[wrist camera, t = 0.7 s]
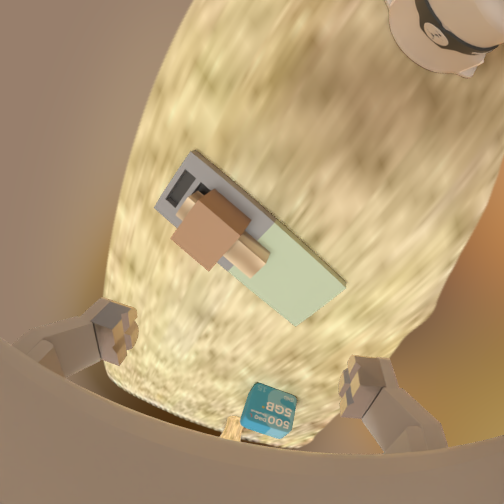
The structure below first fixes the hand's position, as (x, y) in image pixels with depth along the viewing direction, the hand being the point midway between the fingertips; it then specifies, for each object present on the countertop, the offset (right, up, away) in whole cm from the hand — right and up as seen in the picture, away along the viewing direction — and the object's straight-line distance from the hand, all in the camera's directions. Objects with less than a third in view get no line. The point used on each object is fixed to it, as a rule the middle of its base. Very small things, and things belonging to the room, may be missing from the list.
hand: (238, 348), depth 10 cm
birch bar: (-4, +7, +39) cm, 40 cm away
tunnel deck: (0, +5, +41) cm, 41 cm away
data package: (+6, -33, +59) cm, 68 cm away
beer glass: (-4, -50, +70) cm, 86 cm away
